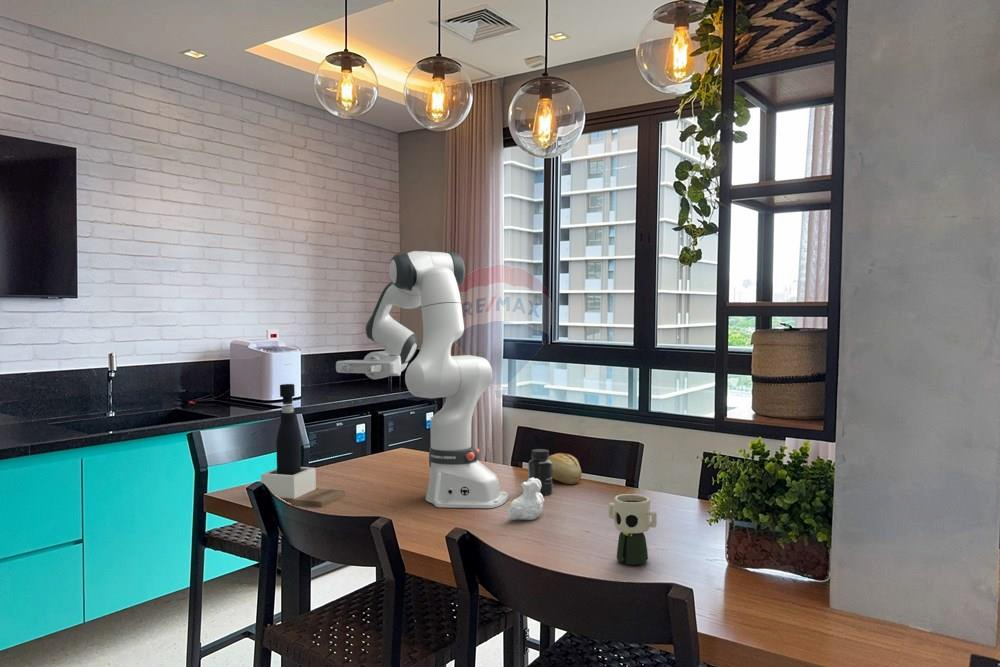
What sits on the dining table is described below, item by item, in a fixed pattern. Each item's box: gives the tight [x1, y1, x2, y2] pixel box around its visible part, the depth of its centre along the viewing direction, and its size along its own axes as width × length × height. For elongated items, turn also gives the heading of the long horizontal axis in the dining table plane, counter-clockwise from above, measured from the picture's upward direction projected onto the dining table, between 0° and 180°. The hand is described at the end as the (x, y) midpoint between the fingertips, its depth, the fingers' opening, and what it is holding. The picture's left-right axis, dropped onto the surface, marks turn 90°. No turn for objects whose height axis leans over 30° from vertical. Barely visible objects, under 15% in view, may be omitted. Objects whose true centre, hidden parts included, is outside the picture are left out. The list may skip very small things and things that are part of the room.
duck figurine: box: [507, 477, 545, 521], centre depth 171 cm, size 12×8×11 cm
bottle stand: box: [260, 466, 346, 508], centre depth 192 cm, size 20×12×8 cm, turn 73°
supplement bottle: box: [527, 448, 554, 496], centre depth 196 cm, size 7×7×12 cm
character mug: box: [608, 493, 658, 565], centre depth 141 cm, size 11×7×13 cm, turn 49°
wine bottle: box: [275, 383, 302, 475], centre depth 193 cm, size 6×6×30 cm
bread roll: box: [548, 452, 583, 485], centre depth 210 cm, size 10×15×8 cm, turn 40°
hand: (355, 368), depth 213 cm, fingers open, 8 cm apart
